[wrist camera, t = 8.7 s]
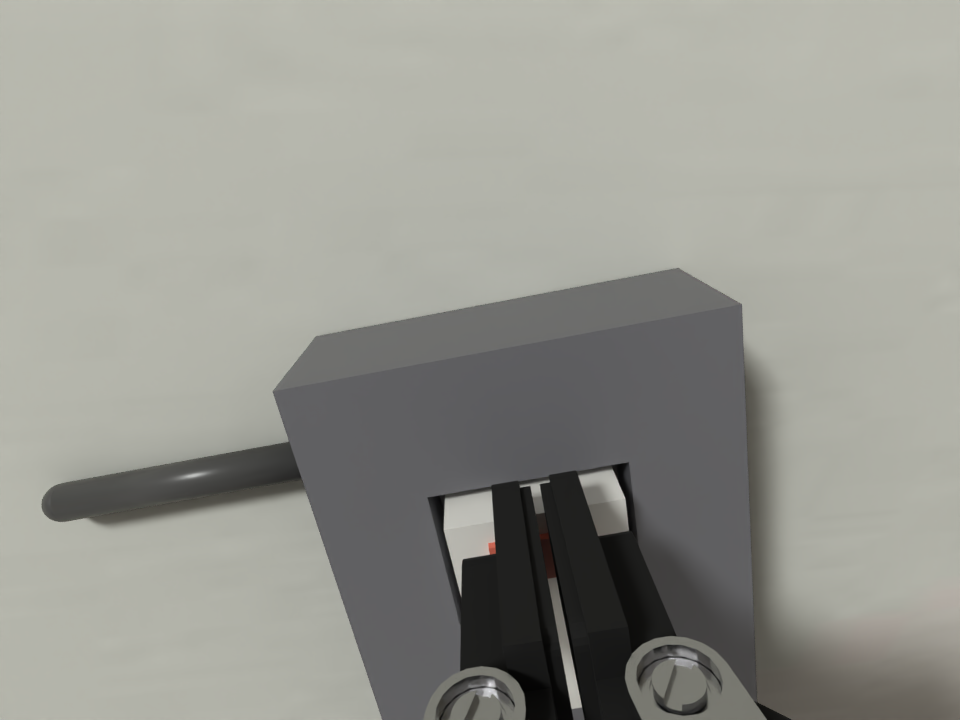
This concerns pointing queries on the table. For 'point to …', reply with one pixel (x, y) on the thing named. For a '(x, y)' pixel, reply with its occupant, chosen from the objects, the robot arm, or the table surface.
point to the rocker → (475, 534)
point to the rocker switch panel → (501, 457)
